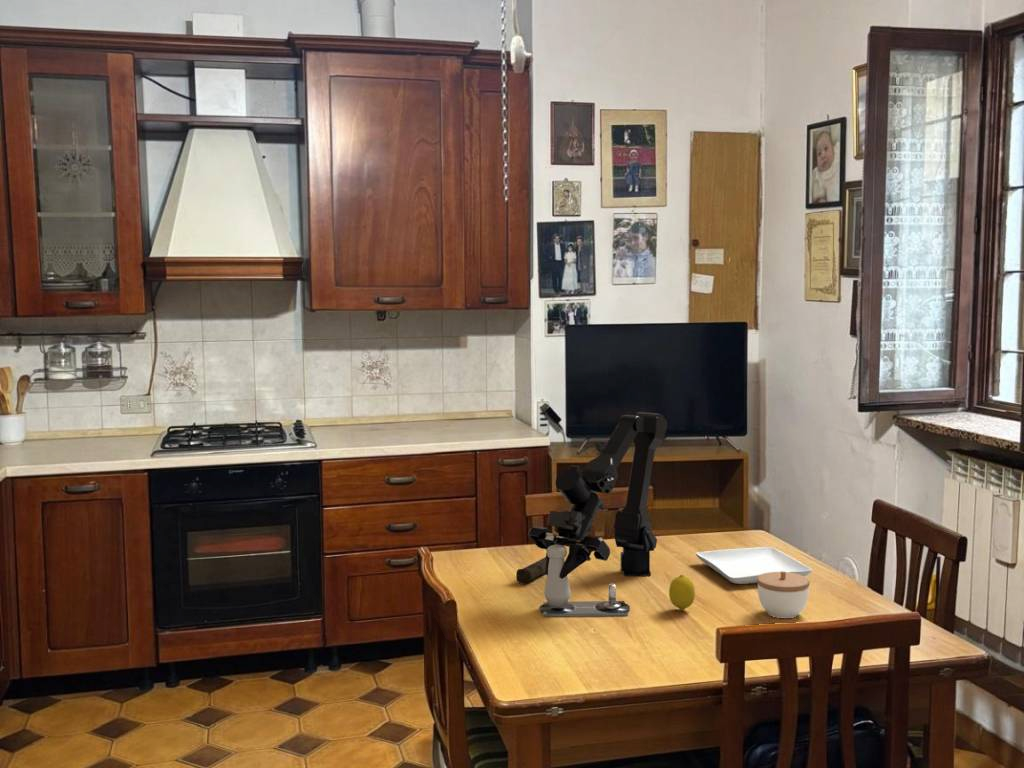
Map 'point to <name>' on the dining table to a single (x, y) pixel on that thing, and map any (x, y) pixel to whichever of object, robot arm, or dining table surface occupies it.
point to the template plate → (584, 609)
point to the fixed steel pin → (612, 598)
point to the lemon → (682, 592)
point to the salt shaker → (556, 578)
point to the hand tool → (531, 571)
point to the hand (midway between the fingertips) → (553, 576)
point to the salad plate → (751, 563)
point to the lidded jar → (783, 593)
